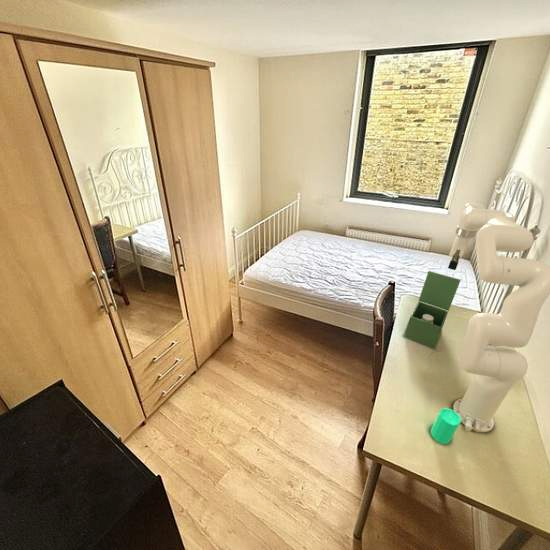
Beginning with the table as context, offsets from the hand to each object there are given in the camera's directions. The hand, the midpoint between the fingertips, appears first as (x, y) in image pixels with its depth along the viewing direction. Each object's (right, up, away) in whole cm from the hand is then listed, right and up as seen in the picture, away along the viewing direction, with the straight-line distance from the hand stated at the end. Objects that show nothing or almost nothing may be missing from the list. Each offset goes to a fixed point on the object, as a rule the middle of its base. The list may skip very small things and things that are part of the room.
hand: (451, 268), depth 136 cm
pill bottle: (-11, -32, +6) cm, 34 cm away
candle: (-27, -58, -37) cm, 74 cm away
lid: (-5, -11, +2) cm, 12 cm away
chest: (-10, -32, +7) cm, 34 cm away
